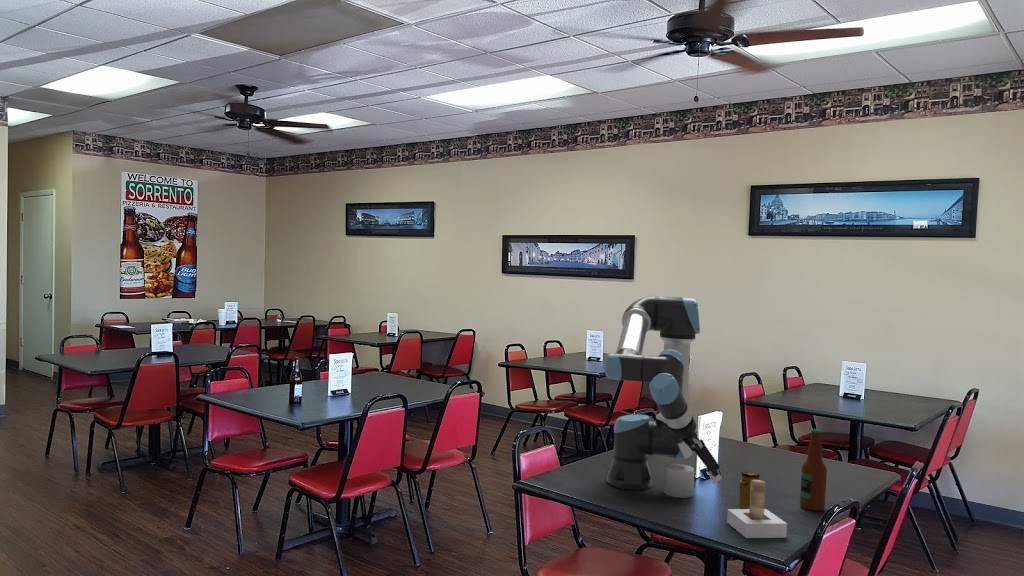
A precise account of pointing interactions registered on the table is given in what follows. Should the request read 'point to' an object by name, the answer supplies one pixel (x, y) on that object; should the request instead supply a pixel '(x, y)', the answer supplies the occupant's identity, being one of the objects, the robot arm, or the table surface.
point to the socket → (757, 524)
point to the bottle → (813, 476)
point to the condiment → (746, 488)
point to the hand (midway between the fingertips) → (702, 468)
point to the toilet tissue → (679, 480)
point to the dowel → (757, 500)
